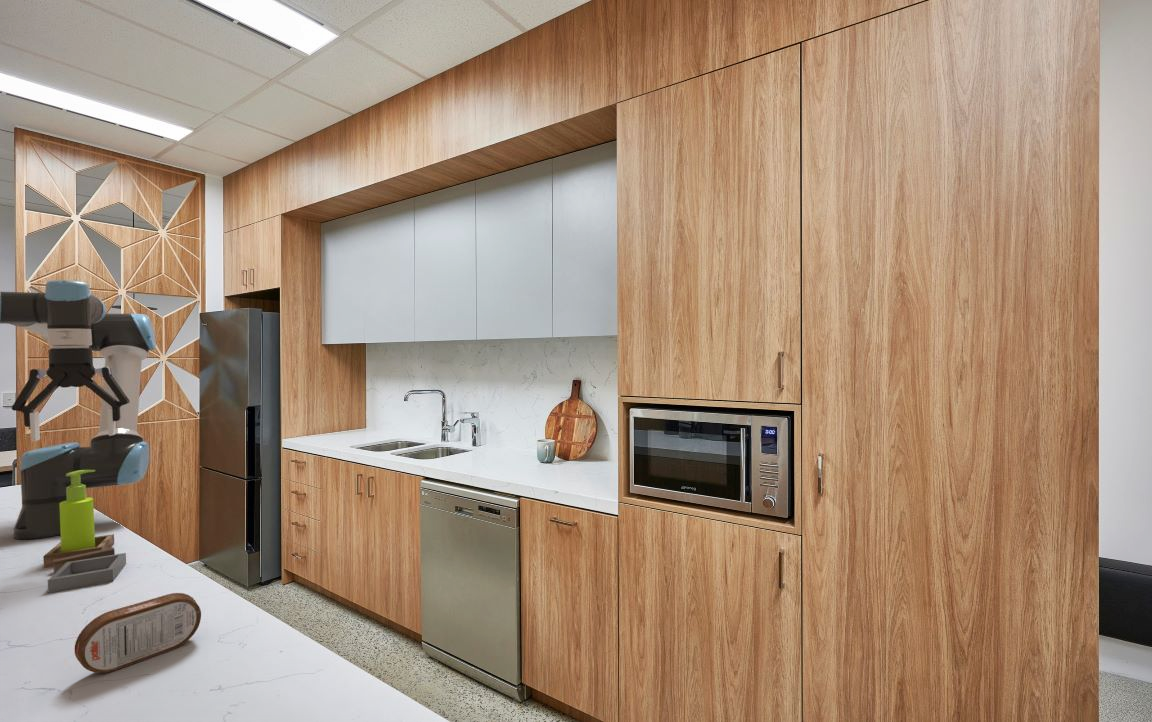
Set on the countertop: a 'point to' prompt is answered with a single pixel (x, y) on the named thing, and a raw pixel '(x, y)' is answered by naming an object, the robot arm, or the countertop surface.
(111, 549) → the door edge rail
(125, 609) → the tin
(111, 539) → the walnut holder
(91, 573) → the keeper frame
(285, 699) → the countertop surface
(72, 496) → the soap dispenser
